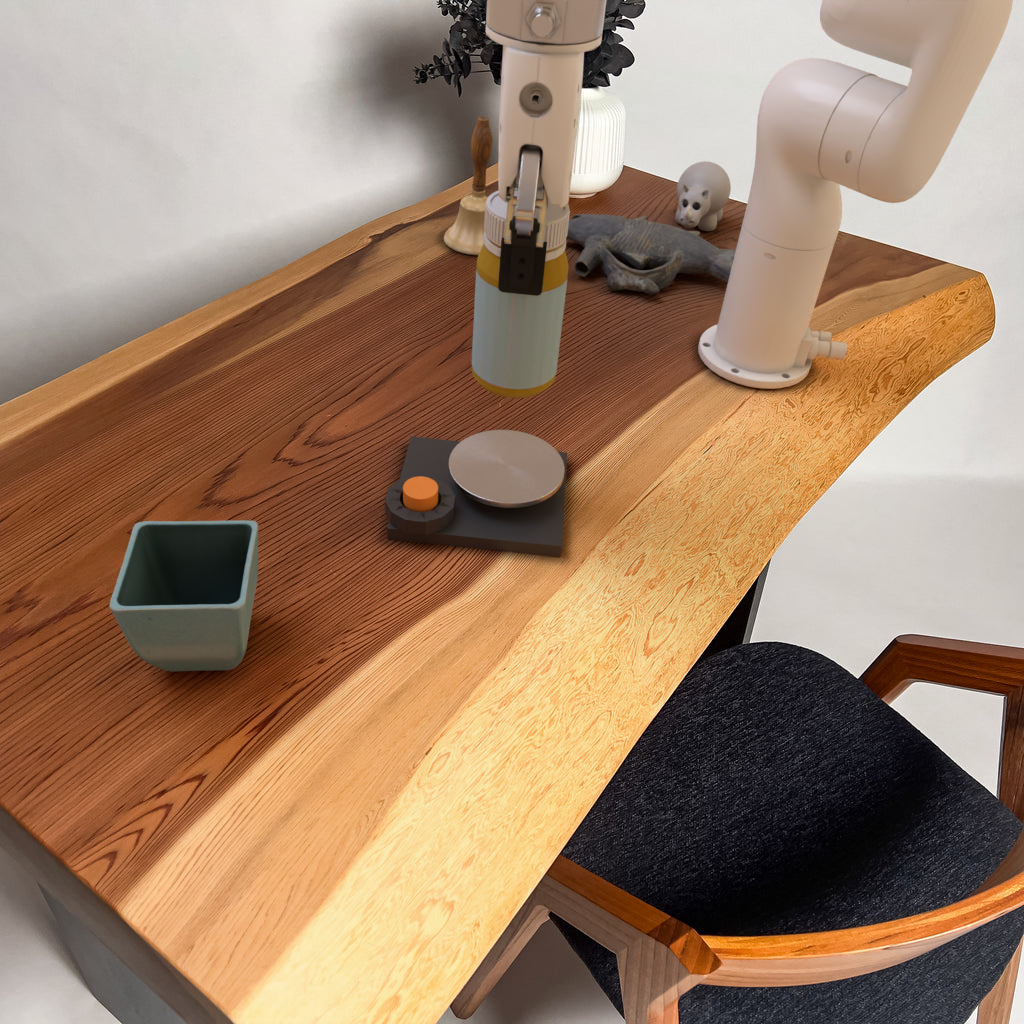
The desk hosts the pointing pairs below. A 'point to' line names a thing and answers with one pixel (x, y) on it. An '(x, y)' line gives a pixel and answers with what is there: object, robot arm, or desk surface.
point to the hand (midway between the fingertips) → (523, 265)
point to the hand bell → (473, 196)
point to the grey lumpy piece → (643, 252)
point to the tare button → (420, 494)
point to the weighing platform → (506, 468)
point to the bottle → (518, 310)
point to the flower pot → (188, 593)
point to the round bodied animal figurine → (702, 195)
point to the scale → (470, 510)
